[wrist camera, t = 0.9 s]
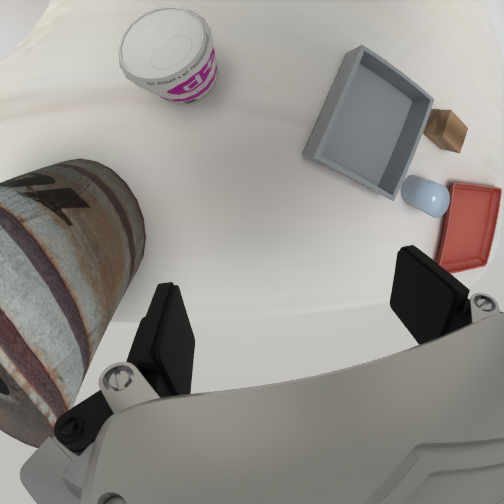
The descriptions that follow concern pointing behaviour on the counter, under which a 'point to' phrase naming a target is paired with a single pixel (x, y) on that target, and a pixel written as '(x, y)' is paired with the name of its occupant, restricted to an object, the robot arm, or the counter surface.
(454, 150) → the walnut cube
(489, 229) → the plant saucer
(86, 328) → the barrel
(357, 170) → the tote
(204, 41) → the supplement can
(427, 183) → the blue cylinder
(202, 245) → the counter surface
